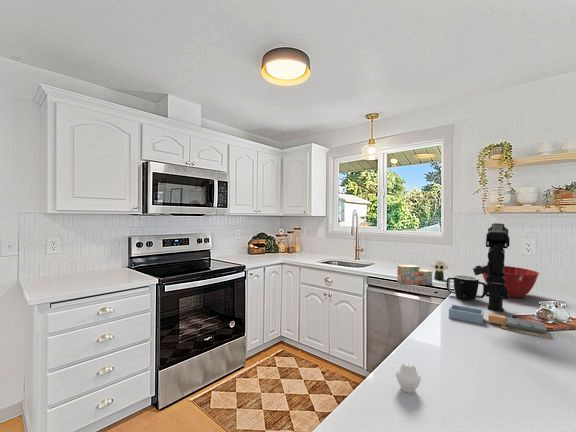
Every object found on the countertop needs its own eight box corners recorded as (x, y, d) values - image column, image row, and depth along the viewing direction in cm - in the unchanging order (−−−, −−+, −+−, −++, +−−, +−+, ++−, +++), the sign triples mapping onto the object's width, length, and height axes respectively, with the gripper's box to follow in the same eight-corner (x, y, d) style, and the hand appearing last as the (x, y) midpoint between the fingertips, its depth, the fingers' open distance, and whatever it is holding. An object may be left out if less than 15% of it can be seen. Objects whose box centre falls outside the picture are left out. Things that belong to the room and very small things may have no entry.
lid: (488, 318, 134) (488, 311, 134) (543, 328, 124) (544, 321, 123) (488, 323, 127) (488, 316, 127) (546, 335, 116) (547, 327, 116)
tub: (451, 312, 143) (451, 304, 143) (483, 318, 135) (483, 309, 135) (448, 317, 136) (448, 308, 135) (482, 324, 128) (483, 315, 128)
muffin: (414, 383, 82) (414, 357, 82) (425, 396, 76) (425, 369, 76) (391, 382, 82) (392, 357, 82) (400, 396, 75) (401, 369, 75)
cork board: (500, 321, 133) (501, 319, 133) (545, 329, 124) (545, 328, 124) (501, 328, 124) (501, 327, 124) (549, 338, 115) (549, 336, 115)
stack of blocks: (427, 283, 205) (427, 265, 205) (432, 285, 199) (432, 266, 199) (396, 282, 204) (397, 264, 204) (400, 284, 198) (401, 266, 198)
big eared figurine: (430, 279, 218) (430, 261, 218) (431, 277, 224) (431, 260, 224) (447, 281, 213) (447, 263, 212) (447, 279, 219) (448, 261, 218)
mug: (473, 295, 176) (473, 275, 175) (488, 303, 160) (489, 281, 160) (444, 293, 177) (444, 273, 177) (456, 301, 161) (457, 279, 161)
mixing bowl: (552, 302, 165) (553, 274, 165) (499, 300, 165) (500, 273, 165) (514, 289, 193) (515, 265, 193) (469, 288, 194) (470, 264, 193)
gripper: (475, 256, 142) (474, 288, 142) (473, 260, 126) (471, 297, 126) (504, 258, 135) (503, 293, 135) (505, 263, 120) (504, 302, 120)
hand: (495, 296), depth 130 cm, fingers open, 9 cm apart
